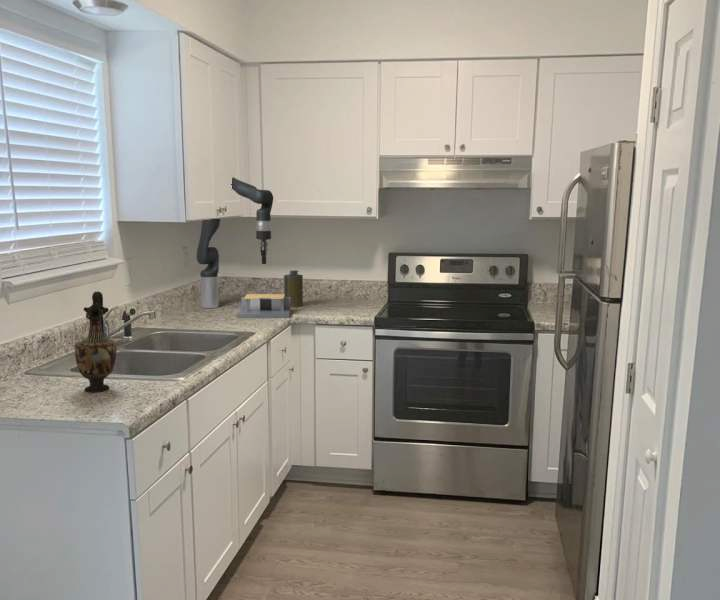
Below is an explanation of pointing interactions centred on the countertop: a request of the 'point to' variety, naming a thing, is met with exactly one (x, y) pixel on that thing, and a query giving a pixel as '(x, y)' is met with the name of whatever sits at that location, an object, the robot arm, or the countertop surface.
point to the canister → (294, 288)
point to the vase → (96, 348)
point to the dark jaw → (276, 304)
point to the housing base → (265, 309)
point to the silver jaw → (255, 304)
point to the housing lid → (264, 296)
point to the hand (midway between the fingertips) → (264, 263)
